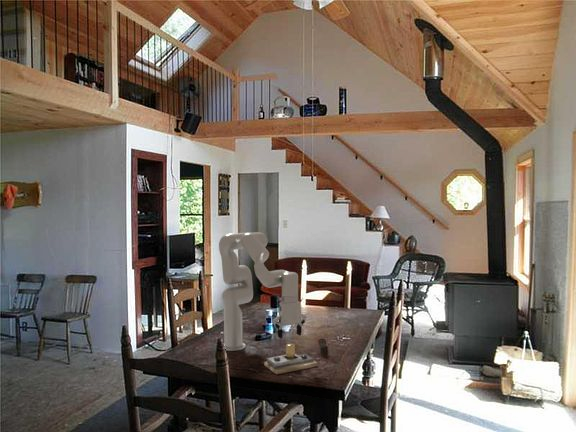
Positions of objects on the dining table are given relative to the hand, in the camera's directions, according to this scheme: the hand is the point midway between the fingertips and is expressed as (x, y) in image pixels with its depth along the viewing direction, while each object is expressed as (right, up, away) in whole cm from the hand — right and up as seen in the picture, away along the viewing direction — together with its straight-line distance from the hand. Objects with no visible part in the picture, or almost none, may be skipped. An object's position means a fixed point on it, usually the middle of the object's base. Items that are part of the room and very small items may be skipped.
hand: (289, 336), depth 197 cm
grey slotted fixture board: (+1, -12, 0) cm, 12 cm away
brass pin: (0, -12, 0) cm, 12 cm away
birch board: (+1, -14, 0) cm, 14 cm away
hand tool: (+17, -14, +20) cm, 30 cm away
